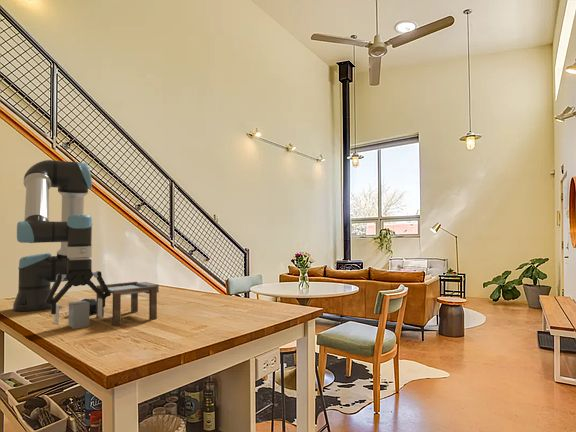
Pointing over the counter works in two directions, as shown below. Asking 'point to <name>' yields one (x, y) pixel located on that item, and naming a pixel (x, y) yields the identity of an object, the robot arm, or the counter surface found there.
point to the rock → (91, 305)
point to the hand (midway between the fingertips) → (79, 320)
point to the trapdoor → (138, 285)
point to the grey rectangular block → (79, 314)
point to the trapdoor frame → (134, 301)
